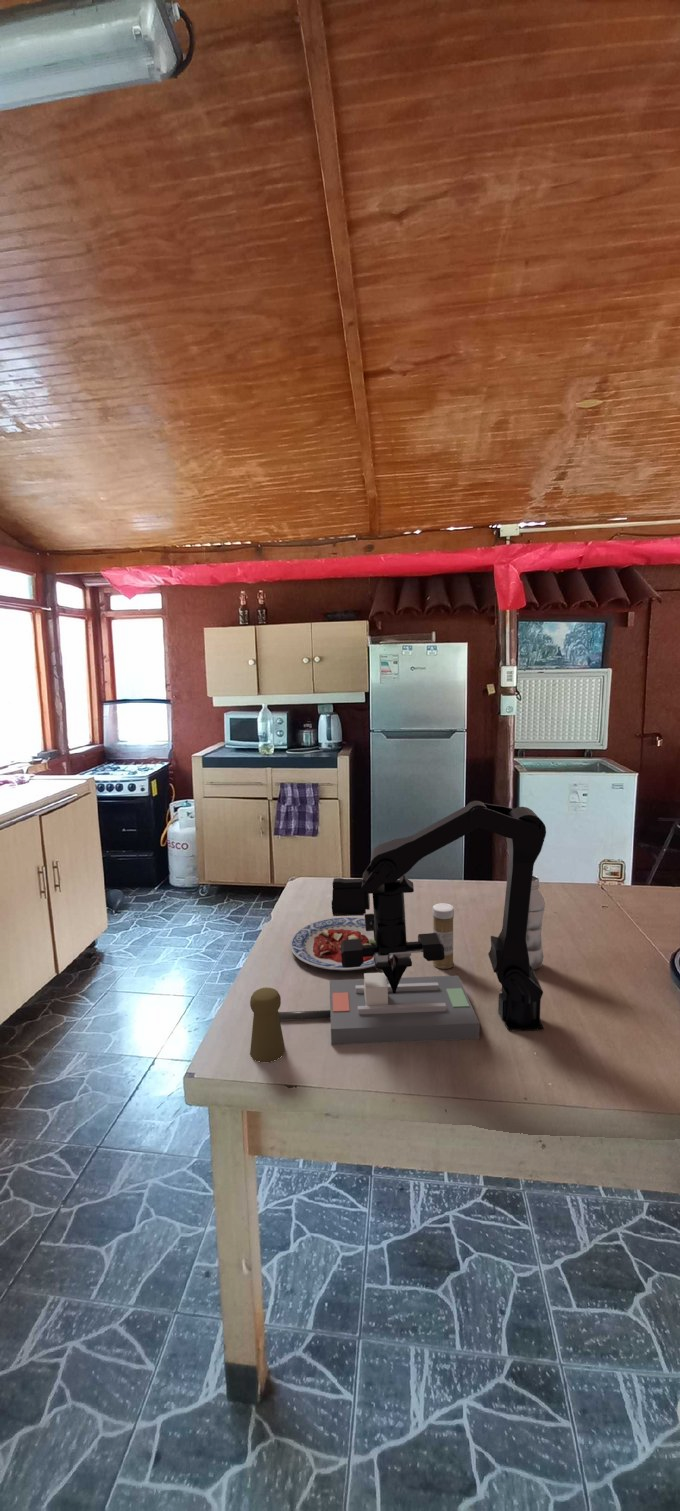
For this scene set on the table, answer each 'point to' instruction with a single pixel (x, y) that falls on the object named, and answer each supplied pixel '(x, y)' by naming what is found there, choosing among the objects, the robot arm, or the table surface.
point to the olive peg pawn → (266, 1026)
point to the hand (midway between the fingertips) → (393, 992)
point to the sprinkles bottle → (444, 932)
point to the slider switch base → (398, 1012)
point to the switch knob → (375, 989)
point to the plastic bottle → (535, 925)
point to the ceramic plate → (331, 942)
